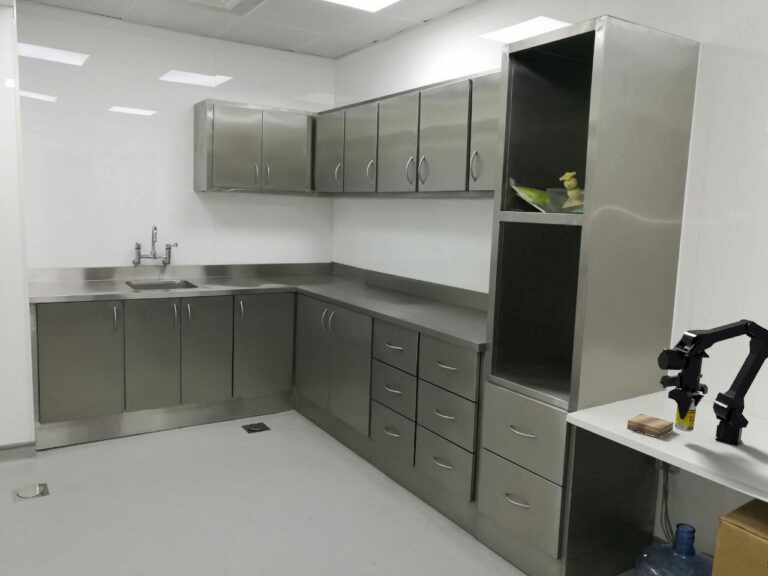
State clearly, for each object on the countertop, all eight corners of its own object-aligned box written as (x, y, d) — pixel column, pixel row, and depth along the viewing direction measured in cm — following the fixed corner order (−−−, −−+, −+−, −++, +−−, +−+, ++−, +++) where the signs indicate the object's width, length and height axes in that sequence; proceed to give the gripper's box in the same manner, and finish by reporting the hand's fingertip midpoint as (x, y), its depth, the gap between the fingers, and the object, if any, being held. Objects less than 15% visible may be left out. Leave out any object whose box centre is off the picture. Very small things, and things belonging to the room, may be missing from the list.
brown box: (672, 430, 215) (673, 422, 215) (659, 437, 207) (660, 429, 207) (640, 422, 223) (641, 413, 222) (627, 428, 215) (628, 419, 214)
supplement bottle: (689, 433, 201) (693, 402, 200) (671, 428, 205) (675, 398, 204) (696, 430, 205) (699, 399, 204) (678, 425, 209) (682, 395, 208)
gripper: (676, 361, 215) (670, 405, 217) (654, 368, 202) (648, 416, 204) (711, 368, 207) (705, 414, 209) (690, 376, 194) (684, 425, 196)
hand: (685, 417), depth 204 cm, fingers closed on supplement bottle, 6 cm apart
